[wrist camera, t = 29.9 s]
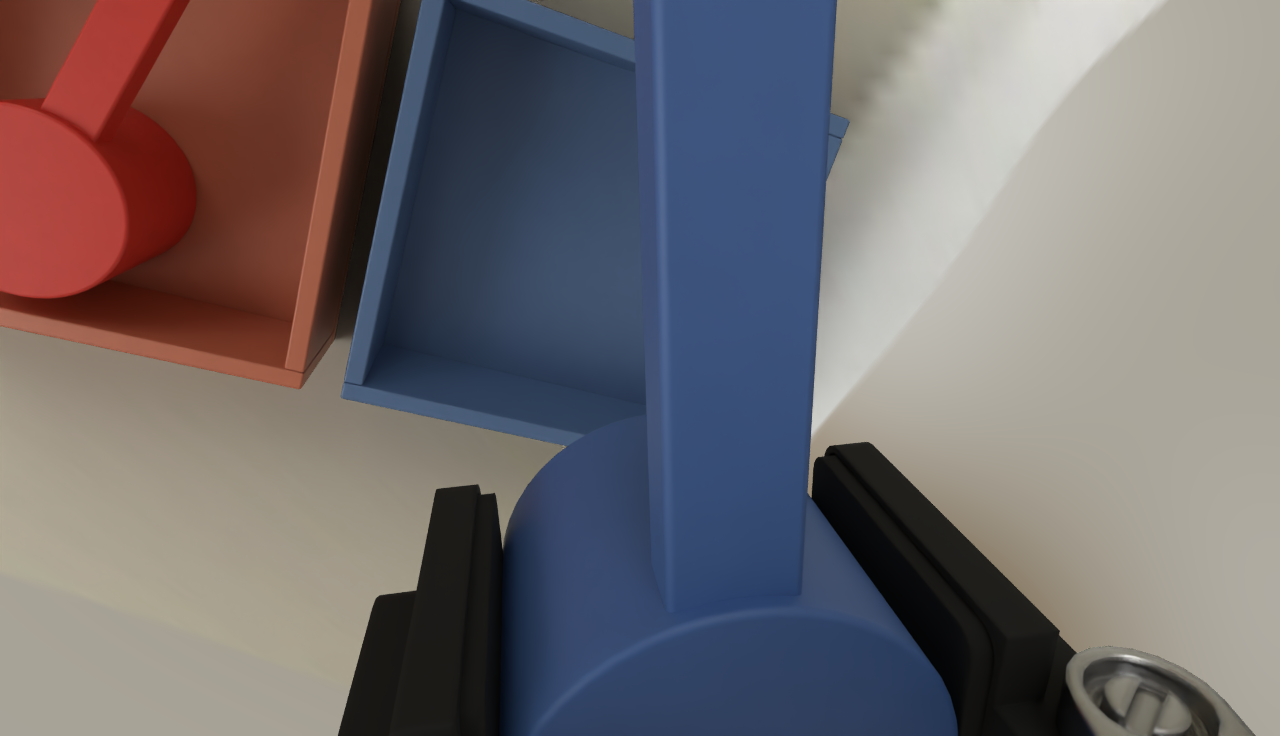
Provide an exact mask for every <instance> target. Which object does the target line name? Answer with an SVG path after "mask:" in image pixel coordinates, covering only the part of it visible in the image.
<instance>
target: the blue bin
mask: <svg viewBox="0 0 1280 736" xmlns="http://www.w3.org/2000/svg"><path fill="white" fill-rule="evenodd" d="M848 125H849V120H848V119H845V118H842V117H840V116H837V115H834V114H832V113H830V124H829V141H828V157H827V174H826V181H827V178H828V175H829V173H830V170H831V168H832V165H833V163H834V160H835V158H836V155H837V153H838V150H839V147H840V145H841V142H842V139H841V138H843V137H844V135H845V132H846V130H847V127H848ZM341 398H343V399H347V400H352V401H357V402H362V403H366V404H371V405H376V406H380V407H385V408H390V409H395V410H399V411H404V412H409V413H413V414H418V415H423V416H428V417H432V418H437V419H442V420H446V421H451V422H456V423H461V424H465V425H470V426H475V427H479V428H484V429H489V430H494V431H498V432H503V433H508V434H512V435H517V436H522V437H527V438H531V439H536V440H541V441H546V442H550V443H555V444H560V445H564V446H569V445H570V444H572V443H573V442H574V441H576V440H578V439H580V438H581V437H583V436H585V435H587V434H589V433H590V432H592V431H594V430H597V429H599V428H601V427H604V426H606V425H609V424H611V423H613V422H617V421H620V420H624V419H628V418H631V417H635V416H641V415H647V410H646V379H645V348H644V317H643V286H642V255H641V224H640V193H639V162H638V131H637V100H636V69H635V40H633V39H630V38H628V37H625V36H622V35H620V34H617V33H614V32H612V31H609V30H606V29H603V28H601V27H598V26H595V25H593V24H590V23H587V22H585V21H582V20H579V19H577V18H574V17H571V16H569V15H566V14H563V13H561V12H558V11H555V10H552V9H550V8H547V7H544V6H542V5H539V4H536V3H534V2H531V1H528V0H422V1H421V6H420V10H419V15H418V20H417V25H416V30H415V35H414V40H413V45H412V50H411V55H410V59H409V64H408V69H407V74H406V79H405V84H404V89H403V94H402V99H401V103H400V108H399V113H398V118H397V123H396V128H395V133H394V138H393V143H392V148H391V152H390V157H389V162H388V167H387V172H386V177H385V182H384V187H383V192H382V196H381V201H380V206H379V211H378V216H377V221H376V226H375V231H374V236H373V241H372V245H371V250H370V255H369V260H368V265H367V270H366V275H365V280H364V285H363V289H362V294H361V299H360V304H359V309H358V314H357V319H356V324H355V329H354V334H353V338H352V343H351V348H350V353H349V358H348V363H347V368H346V373H345V378H344V383H343V387H342V392H341Z"/></svg>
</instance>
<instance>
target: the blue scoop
mask: <svg viewBox="0 0 1280 736" xmlns="http://www.w3.org/2000/svg"><path fill="white" fill-rule="evenodd" d="M633 7H634V38H635V69H636V100H637V131H638V162H639V193H640V224H641V255H642V286H643V317H644V348H645V379H646V410H647V415H641V416H635V417H631V418H628V419H624V420H620V421H617V422H613V423H611V424H609V425H606V426H604V427H601V428H599V429H597V430H594V431H592V432H590V433H589V434H587V435H585V436H583V437H581V438H580V439H578V440H576V441H574V442H573V443H572V444H570V445H569V446H567V447H566V448H565V449H563V450H562V451H561V452H559V453H558V454H557V455H556V456H554V457H553V458H552V459H551V460H550V461H549V462H548V463H547V464H546V465H545V466H544V467H543V468H542V469H541V470H540V471H539V472H538V473H537V475H536V476H535V477H534V478H533V479H532V481H531V482H530V483H529V484H528V486H527V487H526V489H525V490H524V492H523V494H522V495H521V497H520V498H519V500H518V502H517V504H516V506H515V508H514V510H513V513H512V515H511V517H510V520H509V523H508V526H507V530H506V534H505V537H504V545H503V580H502V624H501V669H500V714H499V736H958V728H957V720H956V715H955V711H954V708H953V704H952V700H951V696H950V694H949V692H948V690H947V688H946V686H945V684H944V682H943V680H942V678H941V676H940V675H939V673H938V672H937V671H936V669H935V668H934V666H933V665H932V664H931V662H930V661H929V660H928V658H927V657H926V655H925V654H924V653H923V651H922V650H921V649H920V647H919V646H918V644H917V643H916V642H915V640H914V639H913V638H912V636H911V635H910V633H909V632H908V631H907V629H906V628H905V627H904V625H903V624H902V622H901V621H900V620H899V618H898V617H897V616H896V614H895V613H894V611H893V610H892V609H891V607H890V606H889V605H888V603H887V602H886V600H885V599H884V598H883V596H882V595H881V593H880V592H879V591H878V589H877V588H876V587H875V585H874V584H873V582H872V581H871V580H870V578H869V577H868V576H867V574H866V573H865V571H864V570H863V569H862V567H861V566H860V565H859V563H858V562H857V560H856V559H855V558H854V556H853V555H852V554H851V552H850V551H849V549H848V548H847V547H846V545H845V544H844V543H843V541H842V540H841V538H840V537H839V536H838V534H837V533H836V531H835V530H834V529H833V527H832V526H831V525H830V523H829V522H828V520H827V519H826V518H825V516H824V515H823V514H822V512H821V511H820V509H819V508H818V507H817V505H816V504H815V503H814V501H813V500H812V498H811V497H810V496H809V494H808V493H807V488H808V474H809V457H810V440H811V424H812V407H813V390H814V374H815V357H816V340H817V324H818V307H819V290H820V274H821V257H822V241H823V224H824V207H825V191H826V174H827V157H828V141H829V124H830V107H831V91H832V74H833V57H834V41H835V24H836V7H837V0H633Z"/></svg>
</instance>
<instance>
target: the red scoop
mask: <svg viewBox="0 0 1280 736" xmlns="http://www.w3.org/2000/svg"><path fill="white" fill-rule="evenodd" d="M189 2H190V0H97V2H96V4H95V6H94V8H93V10H92V11H91V13H90V15H89V17H88V19H87V21H86V23H85V25H84V26H83V28H82V30H81V32H80V34H79V36H78V38H77V40H76V41H75V43H74V45H73V47H72V49H71V51H70V53H69V54H68V56H67V58H66V60H65V62H64V64H63V66H62V68H61V69H60V71H59V73H58V75H57V77H56V79H55V81H54V83H53V84H52V86H51V88H50V90H49V92H48V94H47V96H46V98H36V99H9V100H0V291H2V292H5V293H9V294H14V295H18V296H23V297H30V298H47V299H50V298H62V297H67V296H72V295H76V294H79V293H81V292H84V291H87V290H89V289H91V288H93V287H95V286H97V285H99V284H101V283H103V282H105V281H107V280H109V279H111V278H113V277H115V276H117V275H119V274H121V273H123V272H125V271H127V270H129V269H132V268H134V267H136V266H138V265H140V264H142V263H144V262H146V261H148V260H150V259H152V258H154V257H156V256H158V255H160V254H162V253H164V252H166V251H167V250H169V249H170V248H172V247H173V246H174V245H176V244H177V243H178V242H179V241H180V240H181V239H182V237H183V236H184V235H185V233H186V232H187V230H188V228H189V226H190V224H191V222H192V220H193V217H194V213H195V208H196V186H195V181H194V177H193V173H192V170H191V168H190V165H189V163H188V161H187V159H186V157H185V155H184V154H183V152H182V150H181V149H180V147H179V146H178V145H177V143H176V142H175V141H174V139H173V138H172V137H171V136H170V135H169V134H168V133H167V132H166V131H165V130H164V129H163V128H162V127H161V126H160V125H158V124H157V123H156V122H155V121H153V120H152V119H151V118H149V117H148V116H146V115H145V114H143V113H141V112H139V111H138V110H136V109H134V108H132V107H130V106H131V104H132V103H133V101H134V99H135V97H136V96H137V94H138V92H139V90H140V88H141V87H142V85H143V83H144V81H145V80H146V78H147V76H148V74H149V73H150V71H151V69H152V67H153V65H154V64H155V62H156V60H157V58H158V57H159V55H160V53H161V51H162V49H163V48H164V46H165V44H166V42H167V41H168V39H169V37H170V35H171V33H172V32H173V30H174V28H175V26H176V25H177V23H178V21H179V19H180V17H181V16H182V14H183V12H184V10H185V9H186V7H187V5H188V3H189Z"/></svg>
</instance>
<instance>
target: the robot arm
mask: <svg viewBox="0 0 1280 736" xmlns="http://www.w3.org/2000/svg"><path fill="white" fill-rule="evenodd" d="M812 500H813V501H814V503H815V504H816V505H817V507H818V508H819V509H820V511H821V512H822V514H823V515H824V516H825V518H826V519H827V520H828V522H829V523H830V525H831V526H832V527H833V529H834V530H835V531H836V533H837V534H838V536H839V537H840V538H841V540H842V541H843V543H844V544H845V545H846V547H847V548H848V549H849V551H850V552H851V554H852V555H853V556H854V558H855V559H856V560H857V562H858V563H859V565H860V566H861V567H862V569H863V570H864V571H865V573H866V574H867V576H868V577H869V578H870V580H871V581H872V582H873V584H874V585H875V587H876V588H877V589H878V591H879V592H880V593H881V595H882V596H883V598H884V599H885V600H886V602H887V603H888V605H889V606H890V607H891V609H892V610H893V611H894V613H895V614H896V616H897V617H898V618H899V620H900V621H901V622H902V624H903V625H904V627H905V628H906V629H907V631H908V632H909V633H910V635H911V636H912V638H913V639H914V640H915V642H916V643H917V644H918V646H919V647H920V649H921V650H922V651H923V653H924V654H925V655H926V657H927V658H928V660H929V661H930V662H931V664H932V665H933V666H934V668H935V669H936V671H937V672H938V673H939V675H940V676H941V678H942V680H943V682H944V684H945V686H946V688H947V690H948V692H949V694H950V696H951V700H952V704H953V708H954V711H955V715H956V720H957V728H958V736H1255V734H1254V733H1253V732H1252V731H1251V730H1250V729H1249V728H1248V726H1247V725H1246V724H1245V723H1244V722H1243V721H1242V719H1241V718H1240V717H1239V716H1238V715H1237V714H1236V712H1235V711H1234V710H1233V709H1232V708H1231V707H1230V705H1229V704H1228V703H1227V702H1226V701H1225V700H1224V699H1223V698H1222V697H1221V696H1220V695H1219V694H1218V693H1217V692H1216V691H1215V690H1213V689H1212V688H1211V687H1210V686H1209V685H1208V684H1207V683H1205V682H1204V681H1202V680H1201V679H1200V678H1198V677H1196V676H1195V675H1193V674H1192V673H1190V672H1188V671H1187V670H1186V669H1184V668H1182V667H1180V666H1178V665H1176V664H1174V663H1172V662H1169V661H1167V660H1165V659H1163V658H1161V657H1158V656H1155V655H1152V654H1148V653H1145V652H1142V651H1138V650H1135V649H1130V648H1122V647H1113V646H1105V647H1094V648H1088V649H1086V650H1084V651H1082V652H1079V653H1076V652H1075V651H1074V650H1073V649H1072V648H1071V647H1070V646H1069V645H1068V644H1067V643H1066V642H1065V641H1064V640H1063V639H1062V638H1061V637H1060V636H1059V632H1060V631H1059V630H1058V629H1057V628H1056V627H1055V626H1054V625H1053V624H1052V623H1051V622H1050V621H1049V620H1048V619H1047V618H1046V617H1045V616H1044V615H1043V614H1042V613H1041V612H1040V611H1039V610H1038V609H1037V608H1036V607H1035V606H1034V605H1033V604H1032V603H1031V602H1030V601H1029V600H1028V599H1027V598H1026V597H1025V596H1024V595H1023V594H1022V593H1021V592H1020V591H1019V590H1018V589H1017V588H1016V587H1015V586H1014V585H1013V584H1012V583H1011V582H1010V581H1009V580H1008V579H1007V578H1006V577H1005V576H1004V575H1003V574H1002V573H1001V572H1000V571H999V570H998V569H997V568H996V567H995V566H994V565H993V564H992V563H991V562H990V561H989V560H988V559H987V558H986V557H985V556H984V555H983V554H982V553H981V552H980V551H979V550H978V549H977V548H976V547H975V546H974V545H973V544H972V543H971V542H970V541H969V540H968V539H967V538H966V537H965V536H964V535H963V534H962V533H961V532H960V531H959V530H958V529H957V528H956V527H955V526H954V525H953V524H952V523H951V522H950V521H949V520H948V519H947V518H946V517H945V516H944V515H943V514H942V513H941V512H940V511H939V510H938V509H937V508H936V507H935V506H934V505H933V504H932V503H931V502H930V501H929V500H928V499H927V498H926V497H925V496H924V495H923V494H922V493H921V492H919V490H918V489H917V488H916V487H915V486H913V484H912V483H911V482H910V481H909V480H908V479H907V478H906V477H905V476H904V475H903V474H902V473H901V472H900V471H899V470H898V469H897V468H896V467H895V466H893V464H892V463H890V462H889V460H887V458H885V456H883V455H882V454H881V453H880V452H879V451H878V450H877V449H876V448H875V447H874V446H873V445H872V444H870V443H869V442H861V443H853V444H844V445H834V446H829V447H828V448H827V450H826V452H825V456H824V457H818V458H817V459H816V460H815V462H814V468H813V484H812ZM502 580H503V549H502V541H501V532H500V524H499V516H498V508H497V500H496V495H495V493H493V494H484V495H481V492H480V488H479V485H468V486H459V487H450V488H441V489H436V493H435V497H434V502H433V508H432V513H431V518H430V523H429V528H428V534H427V539H426V544H425V549H424V554H423V560H422V565H421V570H420V575H419V580H418V586H417V591H410V592H402V593H394V594H387V595H379V596H378V597H377V598H376V600H375V602H374V605H373V608H372V611H371V615H370V619H369V622H368V626H367V630H366V633H365V637H364V641H363V644H362V648H361V652H360V656H359V659H358V663H357V667H356V670H355V674H354V678H353V681H352V685H351V689H350V692H349V696H348V700H347V703H346V707H345V711H344V715H343V718H342V722H341V726H340V729H339V733H338V736H499V714H500V669H501V624H502Z"/></svg>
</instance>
